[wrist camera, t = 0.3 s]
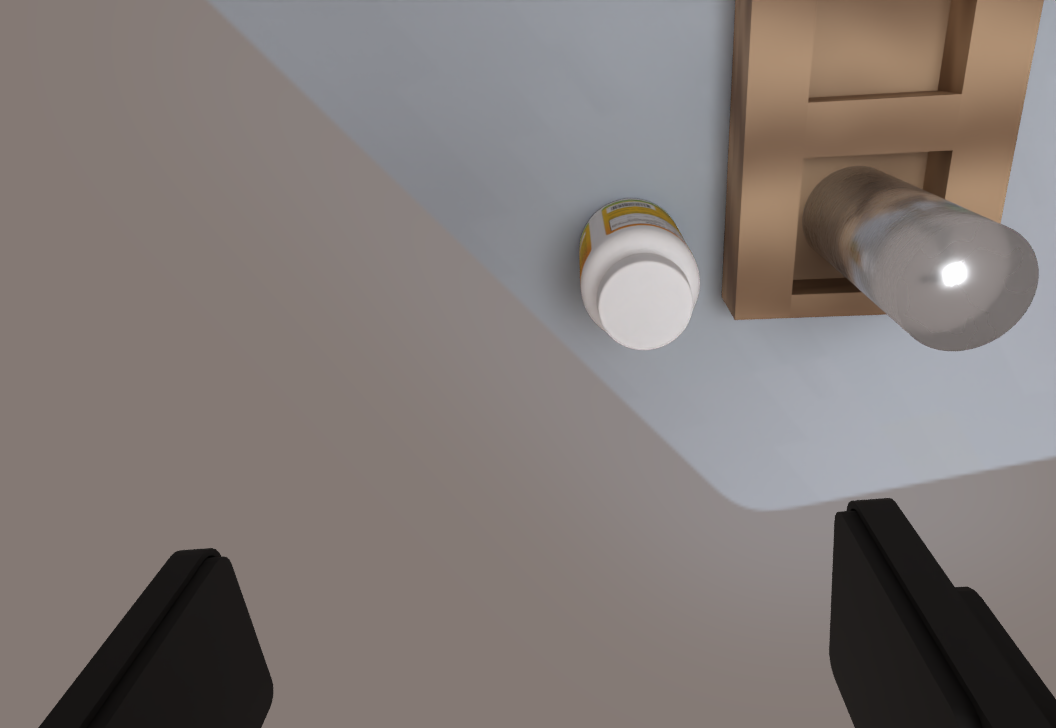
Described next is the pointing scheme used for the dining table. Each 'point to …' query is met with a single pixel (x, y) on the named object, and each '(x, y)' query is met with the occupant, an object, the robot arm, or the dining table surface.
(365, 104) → the dining table surface
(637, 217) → the supplement bottle
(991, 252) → the billet
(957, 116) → the wooden compartment tray
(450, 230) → the dining table surface
